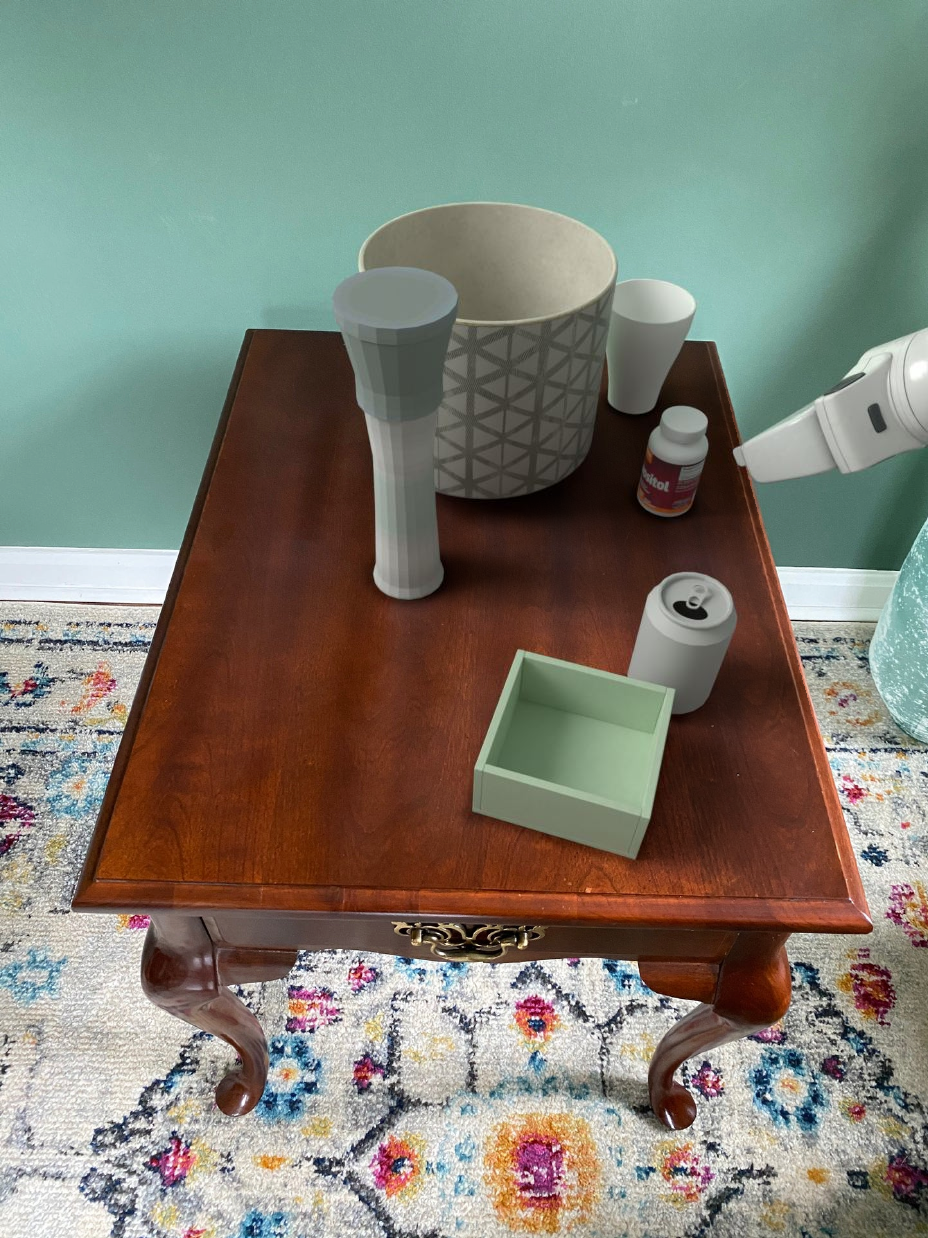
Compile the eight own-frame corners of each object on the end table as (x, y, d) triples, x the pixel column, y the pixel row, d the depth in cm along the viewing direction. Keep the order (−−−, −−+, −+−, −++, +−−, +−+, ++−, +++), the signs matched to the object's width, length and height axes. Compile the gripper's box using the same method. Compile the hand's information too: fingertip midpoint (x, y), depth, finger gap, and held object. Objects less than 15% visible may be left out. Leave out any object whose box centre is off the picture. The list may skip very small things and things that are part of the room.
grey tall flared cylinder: (472, 564, 88) (481, 287, 66) (421, 622, 83) (411, 342, 61) (397, 530, 92) (381, 255, 69) (342, 584, 86) (306, 304, 64)
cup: (587, 375, 112) (602, 276, 102) (668, 379, 112) (690, 279, 102) (592, 423, 105) (608, 321, 95) (678, 426, 105) (703, 325, 95)
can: (613, 699, 77) (636, 610, 68) (642, 643, 82) (666, 552, 73) (693, 732, 75) (727, 645, 66) (718, 673, 79) (753, 583, 70)
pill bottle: (625, 492, 96) (642, 409, 88) (670, 476, 98) (690, 394, 90) (657, 525, 93) (678, 442, 85) (703, 509, 95) (727, 426, 87)
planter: (612, 422, 105) (646, 226, 87) (548, 552, 90) (573, 347, 72) (426, 377, 111) (422, 185, 93) (336, 491, 96) (310, 288, 78)
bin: (660, 734, 75) (676, 689, 70) (635, 860, 67) (650, 819, 62) (513, 695, 77) (518, 648, 72) (472, 811, 70) (474, 768, 65)
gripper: (961, 315, 72) (825, 366, 84) (816, 404, 64) (687, 446, 76) (986, 384, 73) (848, 425, 86) (846, 481, 65) (715, 510, 77)
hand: (772, 435), depth 81 cm, fingers open, 8 cm apart
